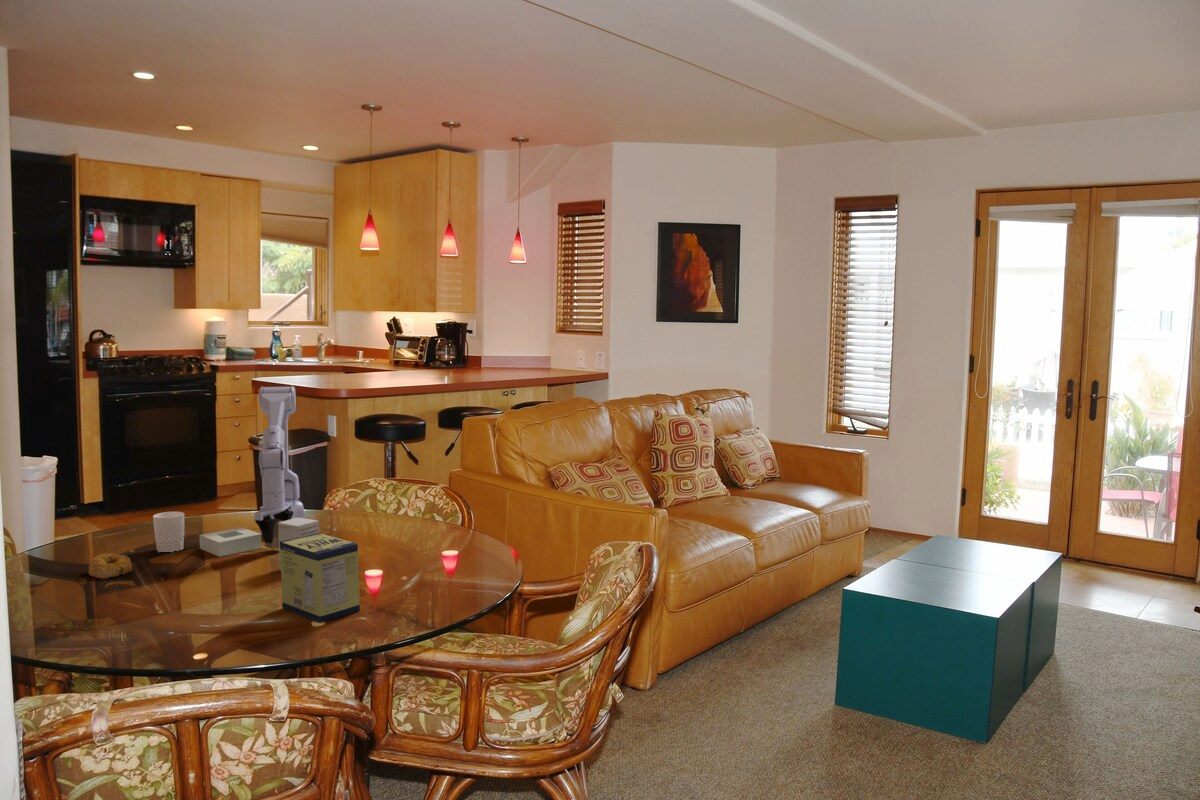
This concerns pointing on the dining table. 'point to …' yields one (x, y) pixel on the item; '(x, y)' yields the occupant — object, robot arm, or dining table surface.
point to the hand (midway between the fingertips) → (275, 539)
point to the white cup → (169, 531)
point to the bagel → (109, 565)
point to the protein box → (319, 577)
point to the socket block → (230, 541)
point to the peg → (275, 536)
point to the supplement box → (296, 529)
